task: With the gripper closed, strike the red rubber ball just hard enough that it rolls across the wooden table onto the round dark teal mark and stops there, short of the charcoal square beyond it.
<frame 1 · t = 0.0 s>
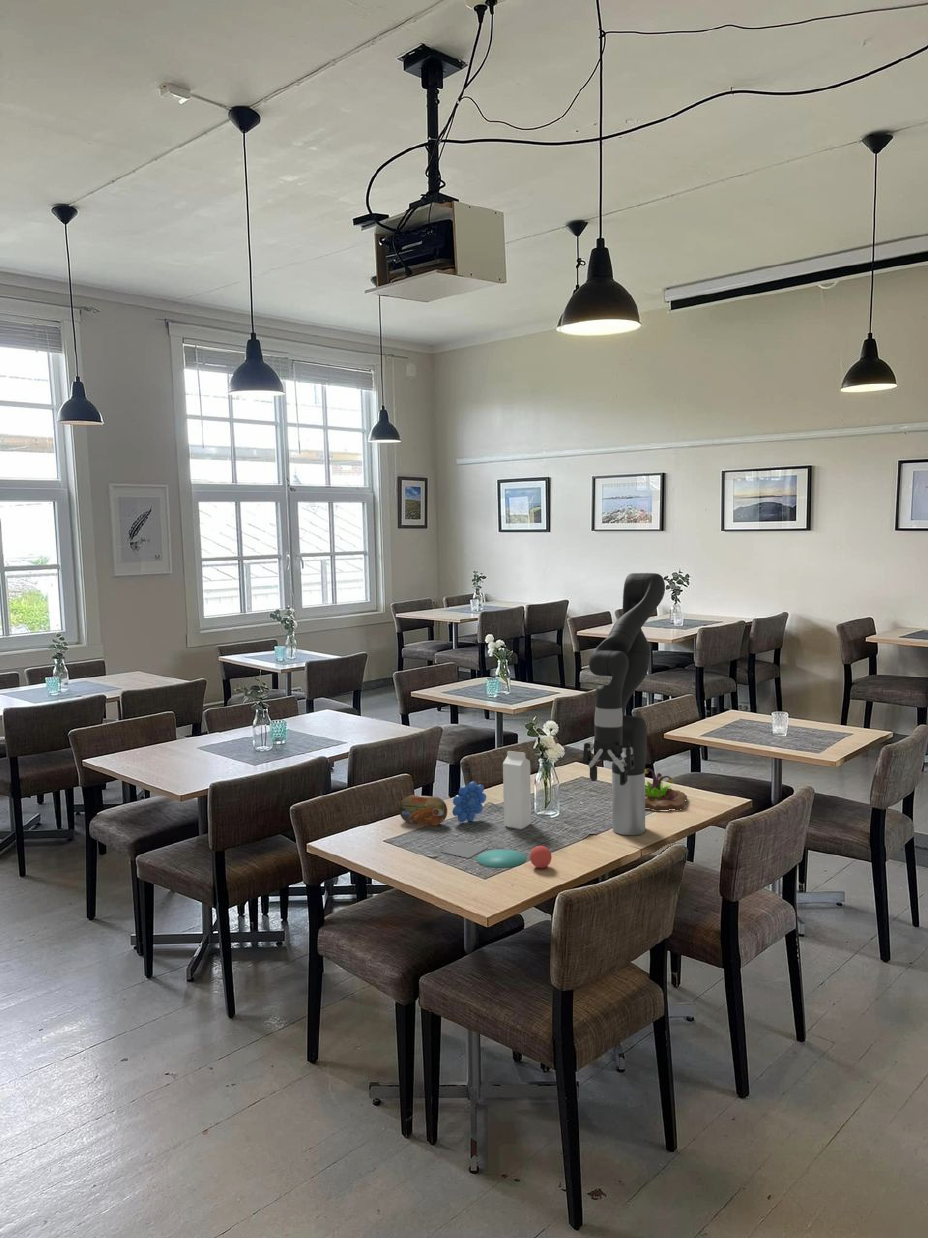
hand: (608, 782, 237), 17 cm above the table, tool pointing down, fingers open, 8 cm apart
ball: (540, 857, 222), on the table
tin: (423, 824, 261), on the table
grapes: (468, 821, 262), on the table
milk: (517, 825, 257), on the table
plant: (654, 804, 276), on the table
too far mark: (464, 850, 236), on the table
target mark: (501, 858, 229), on the table
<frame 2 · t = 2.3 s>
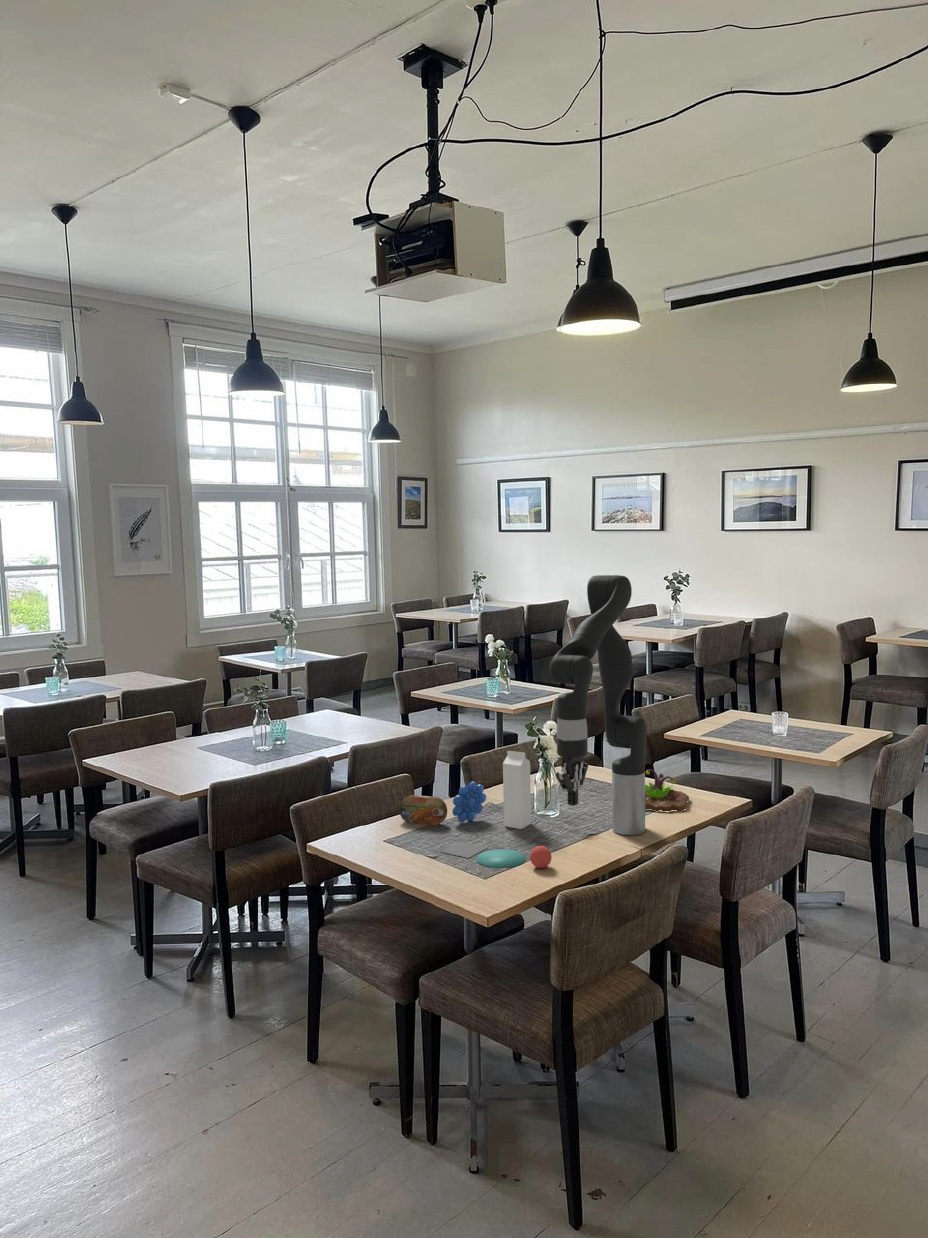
hand: (572, 804, 215), 18 cm above the table, tool pointing down, fingers closed
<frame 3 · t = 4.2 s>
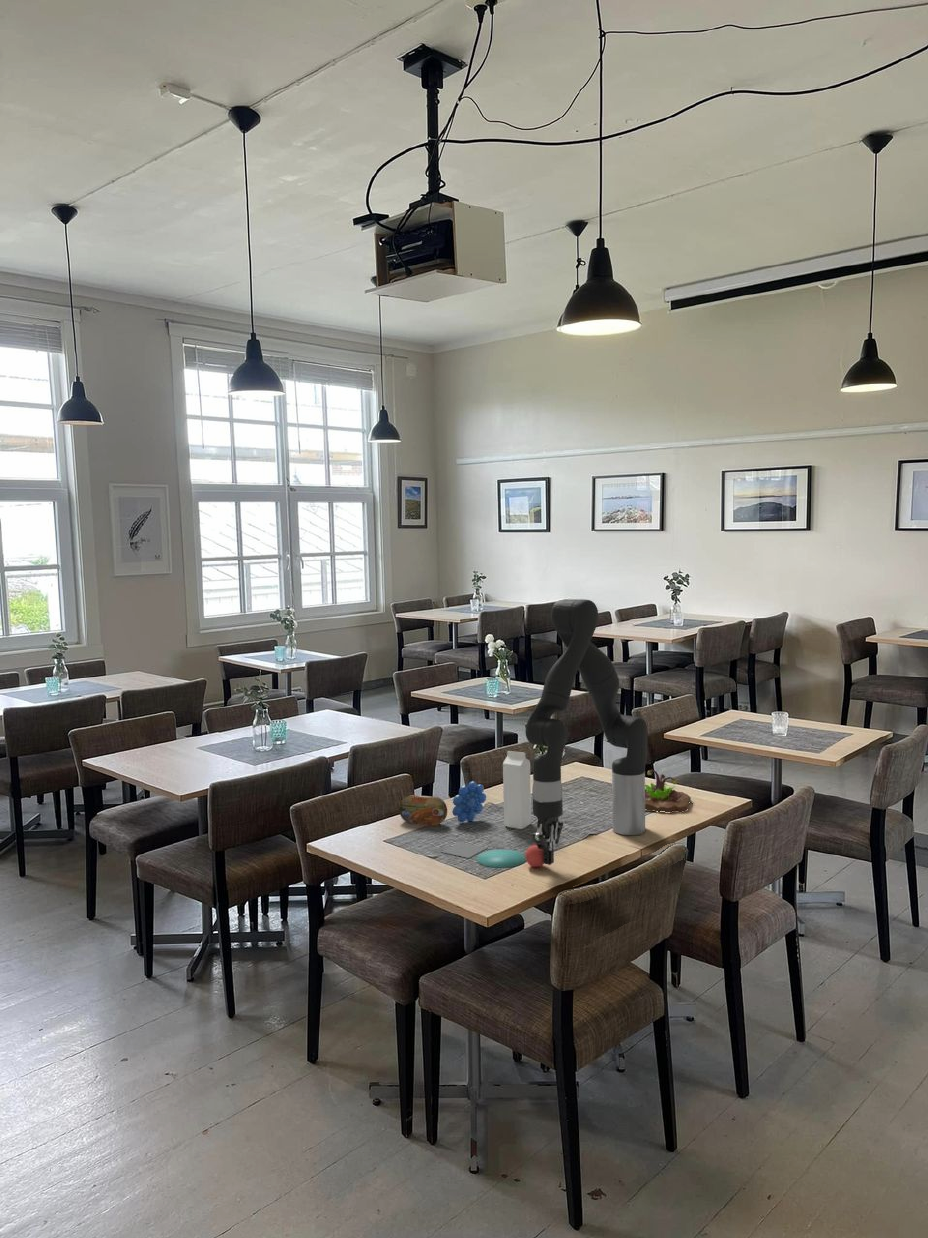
hand: (548, 863, 220), 2 cm above the table, tool pointing down, fingers closed
ball: (536, 856, 223), on the table, touching gripper
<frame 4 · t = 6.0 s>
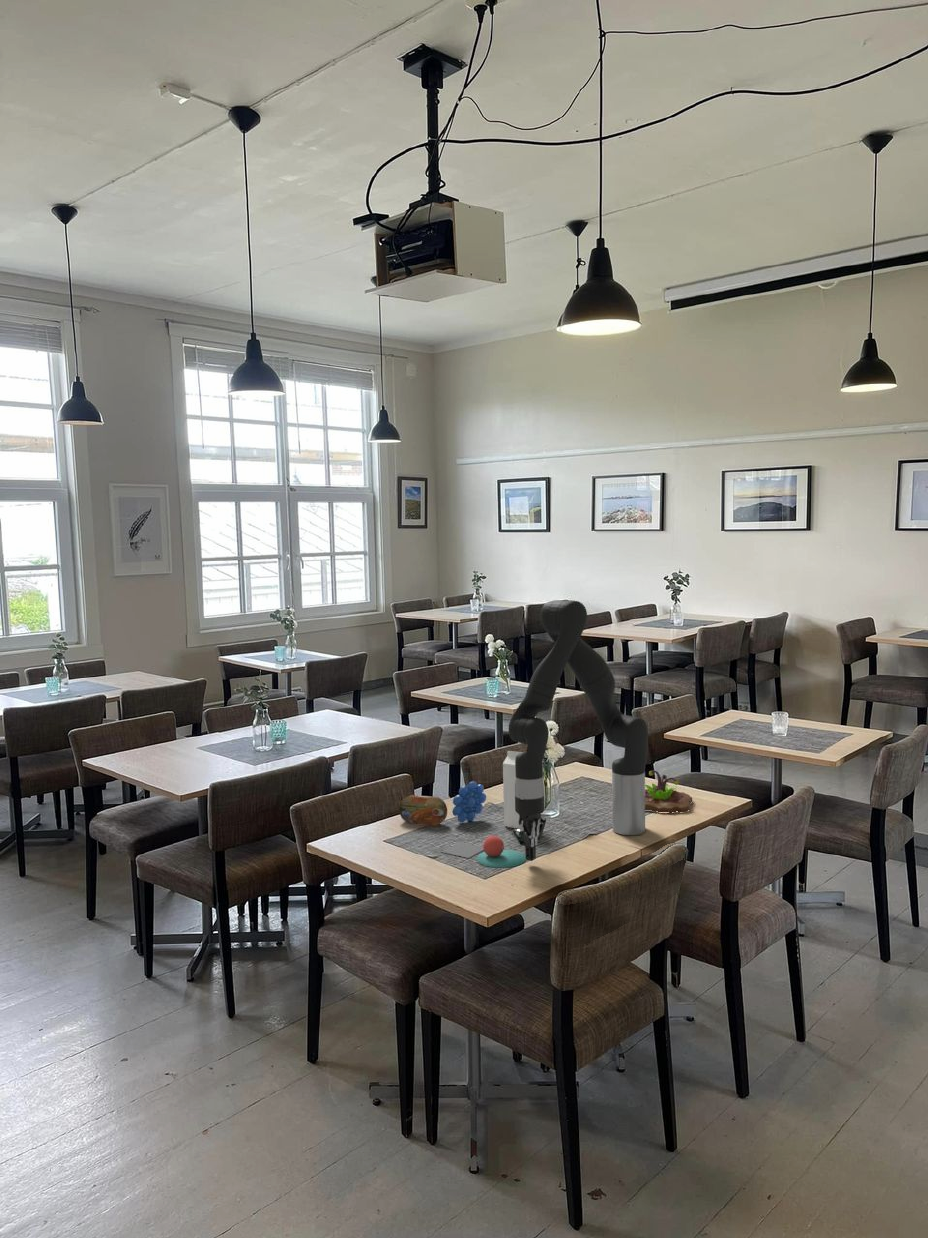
hand: (530, 859, 224), 2 cm above the table, tool pointing down, fingers closed
ball: (493, 846, 231), on the table
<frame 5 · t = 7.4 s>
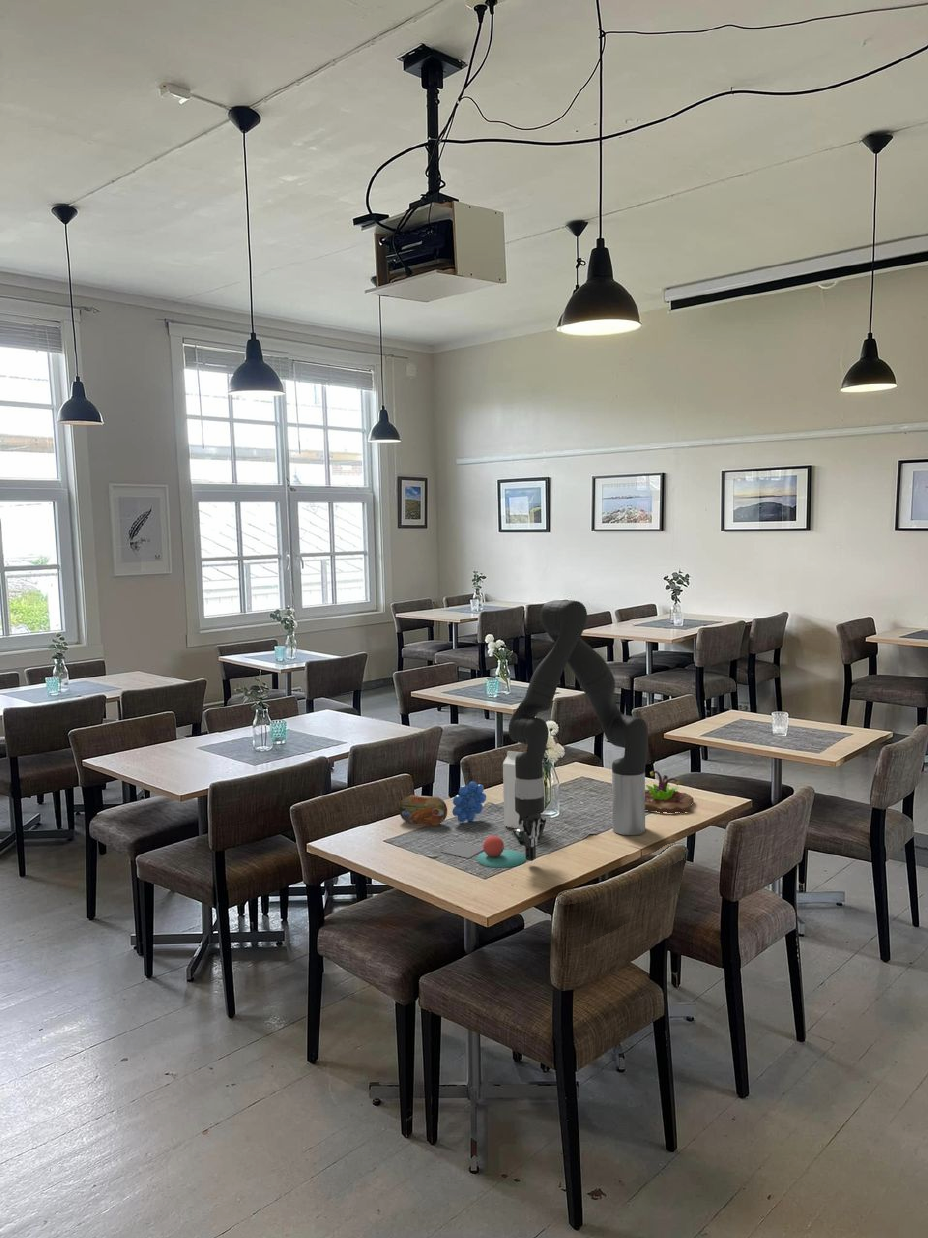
hand: (530, 859, 224), 2 cm above the table, tool pointing down, fingers closed
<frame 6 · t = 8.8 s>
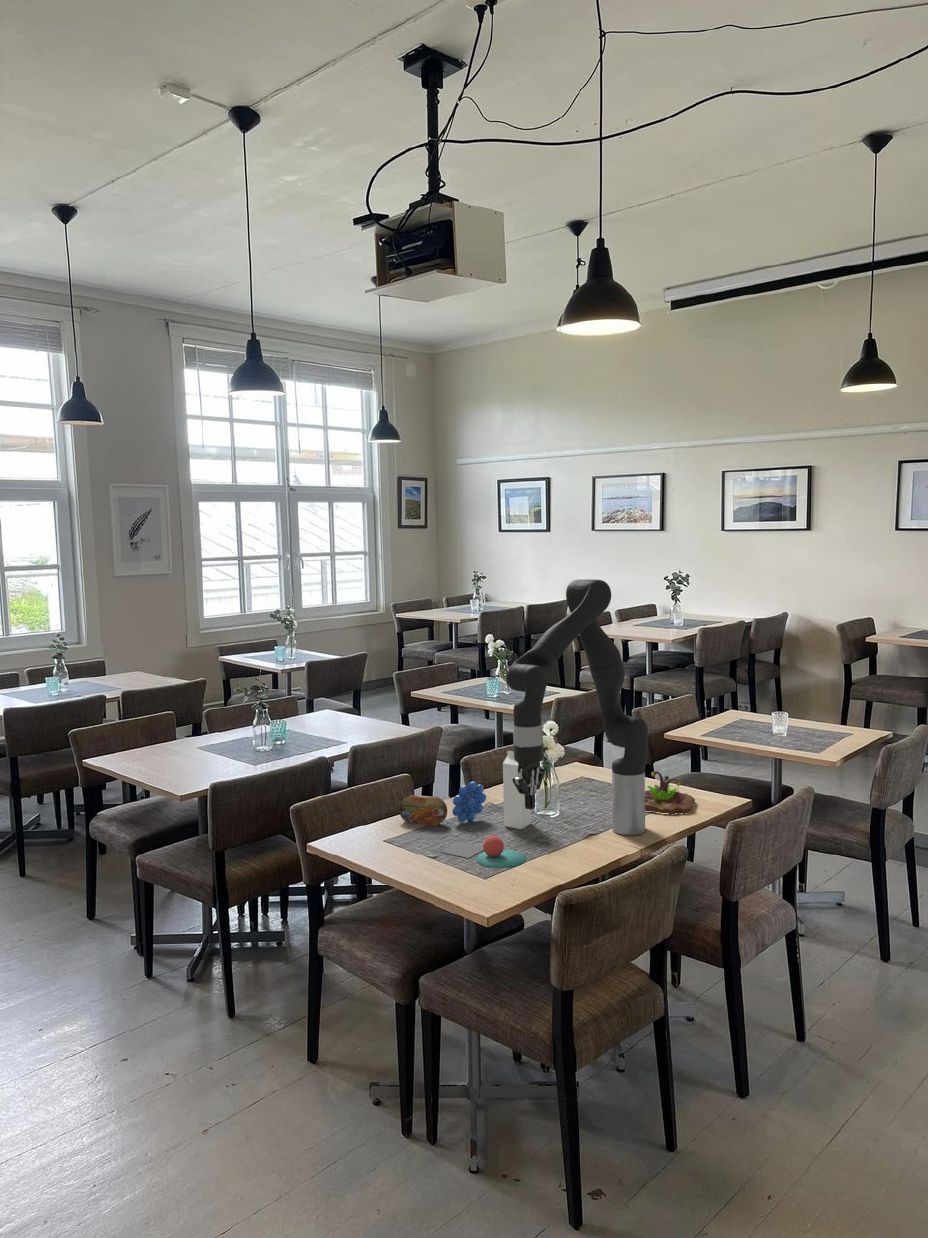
hand: (530, 808, 223), 15 cm above the table, tool pointing down, fingers closed
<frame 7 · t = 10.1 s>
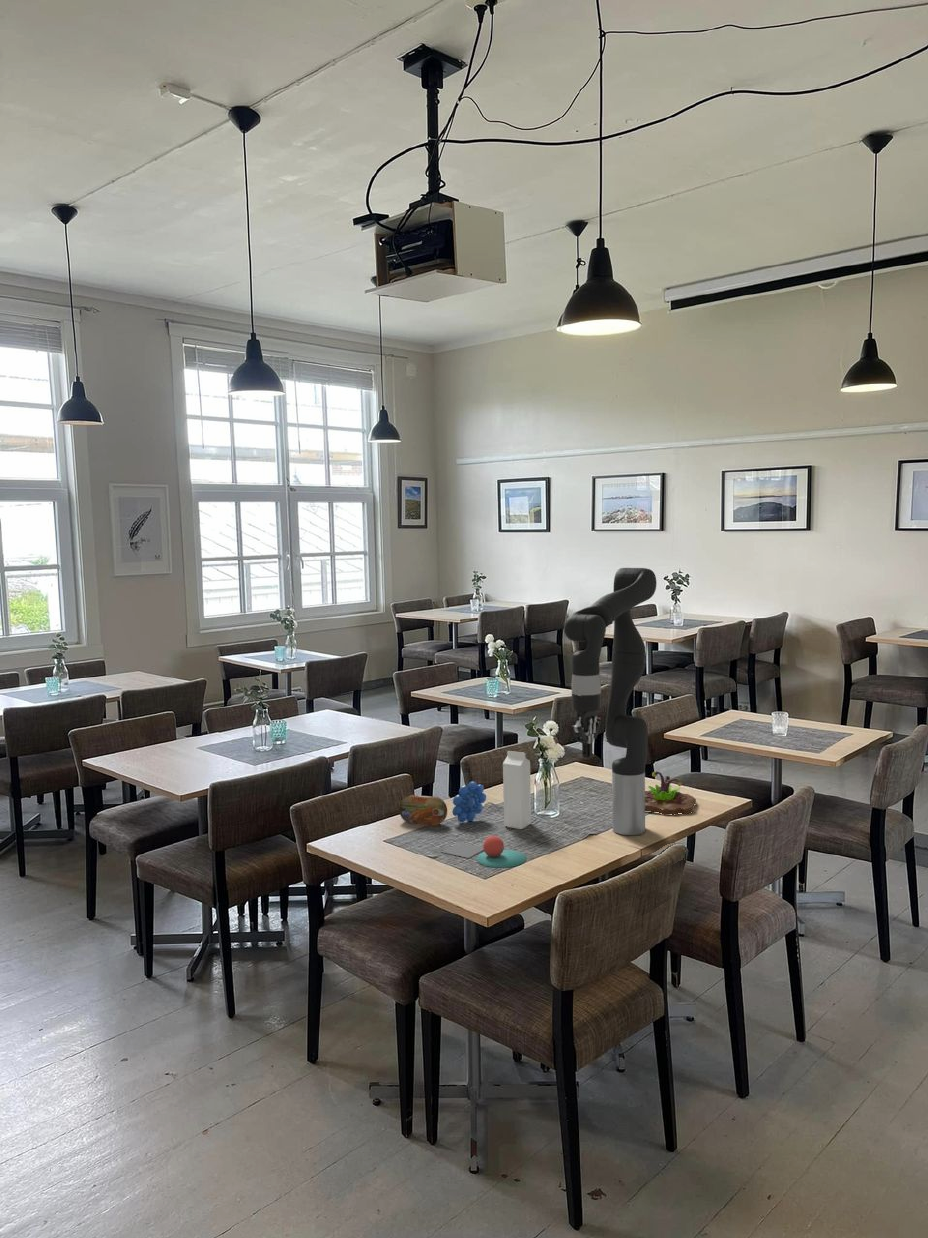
hand: (587, 757, 227), 27 cm above the table, tool pointing down, fingers closed
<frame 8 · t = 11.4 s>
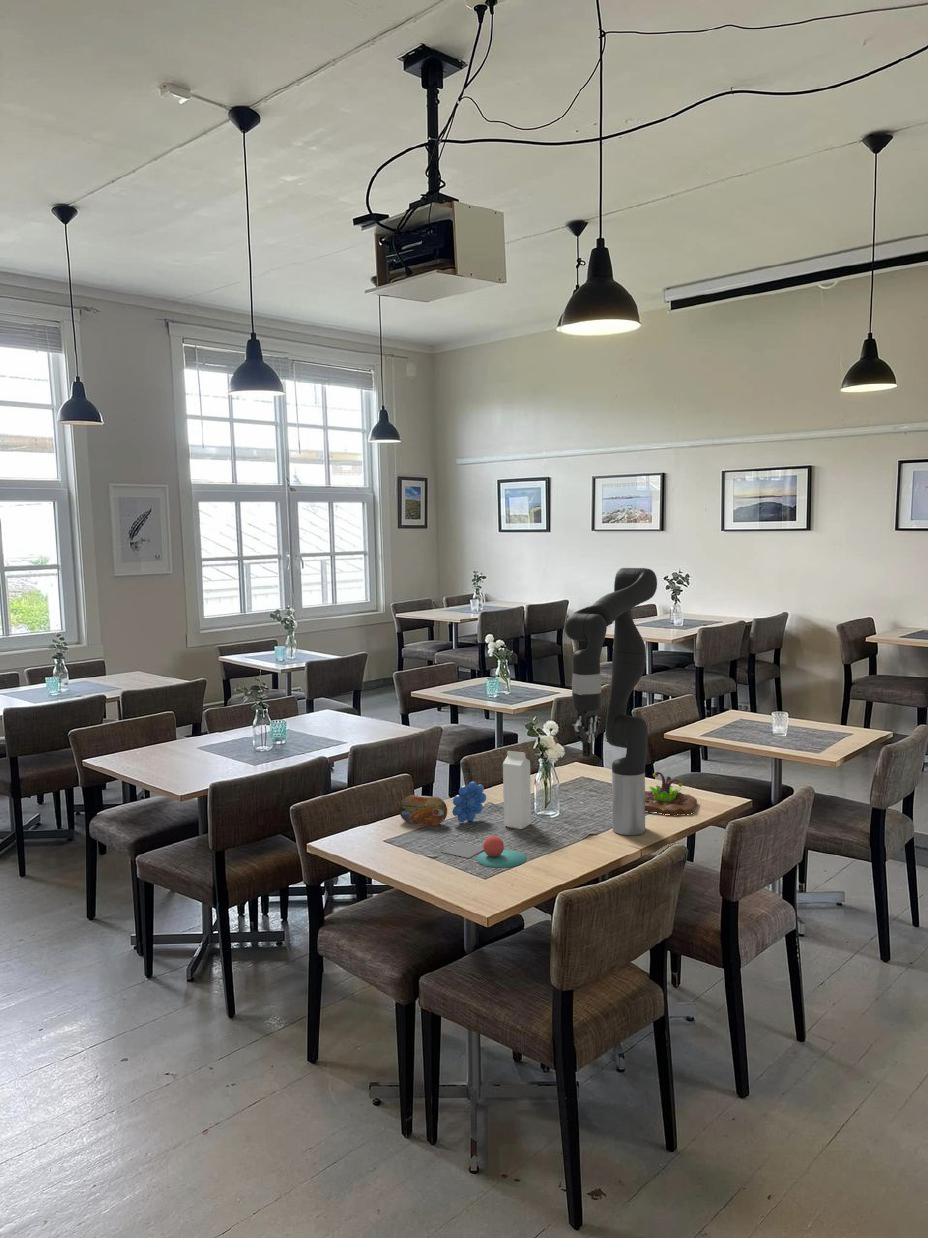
hand: (587, 756, 227), 27 cm above the table, tool pointing down, fingers closed
at the end: ball 2.6 cm from the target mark (horizontally); ball at rest at the end (0.0 cm/s); ball moved 14.6 cm from its start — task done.
